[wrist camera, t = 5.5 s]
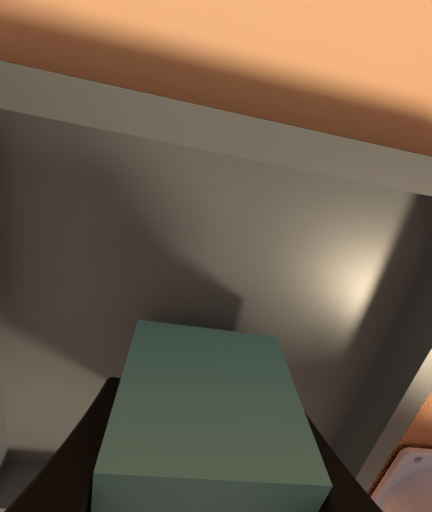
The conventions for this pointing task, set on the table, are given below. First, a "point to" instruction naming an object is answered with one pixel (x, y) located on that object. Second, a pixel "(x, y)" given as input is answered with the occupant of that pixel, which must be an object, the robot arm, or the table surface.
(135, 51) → the table surface
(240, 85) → the table surface
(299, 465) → the teal block
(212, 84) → the table surface
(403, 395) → the charcoal tray
